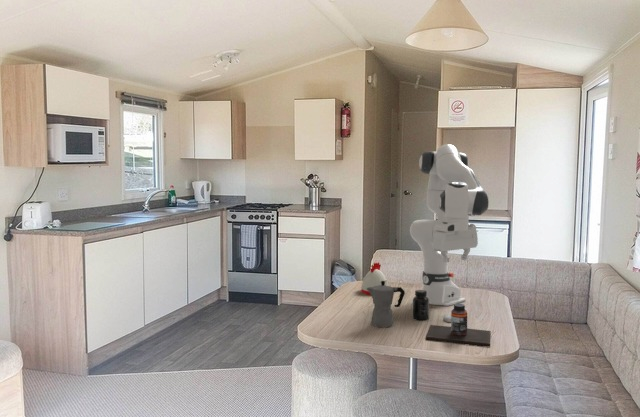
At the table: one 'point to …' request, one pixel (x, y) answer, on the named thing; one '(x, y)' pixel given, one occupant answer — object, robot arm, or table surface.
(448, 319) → the white glossy disc
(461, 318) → the supplement bottle
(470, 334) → the hardcover book
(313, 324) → the table surface
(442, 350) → the table surface
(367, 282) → the kitchen timer
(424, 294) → the supplement bottle
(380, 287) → the coffeepot
